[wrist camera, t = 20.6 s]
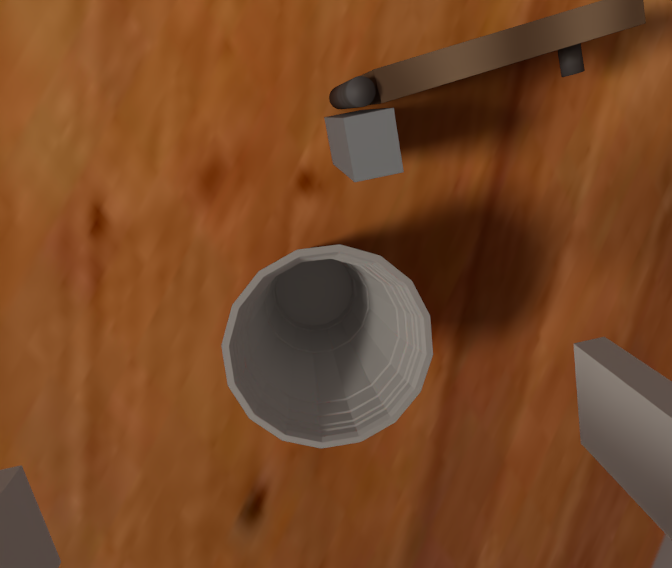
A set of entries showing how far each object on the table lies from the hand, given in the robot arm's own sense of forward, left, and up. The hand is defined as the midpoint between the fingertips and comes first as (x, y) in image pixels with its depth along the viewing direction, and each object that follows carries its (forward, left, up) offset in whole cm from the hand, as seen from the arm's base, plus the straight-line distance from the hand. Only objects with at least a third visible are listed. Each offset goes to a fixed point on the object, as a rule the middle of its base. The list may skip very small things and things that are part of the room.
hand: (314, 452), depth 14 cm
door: (+8, -12, -26) cm, 30 cm away
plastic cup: (-4, -1, -27) cm, 27 cm away
